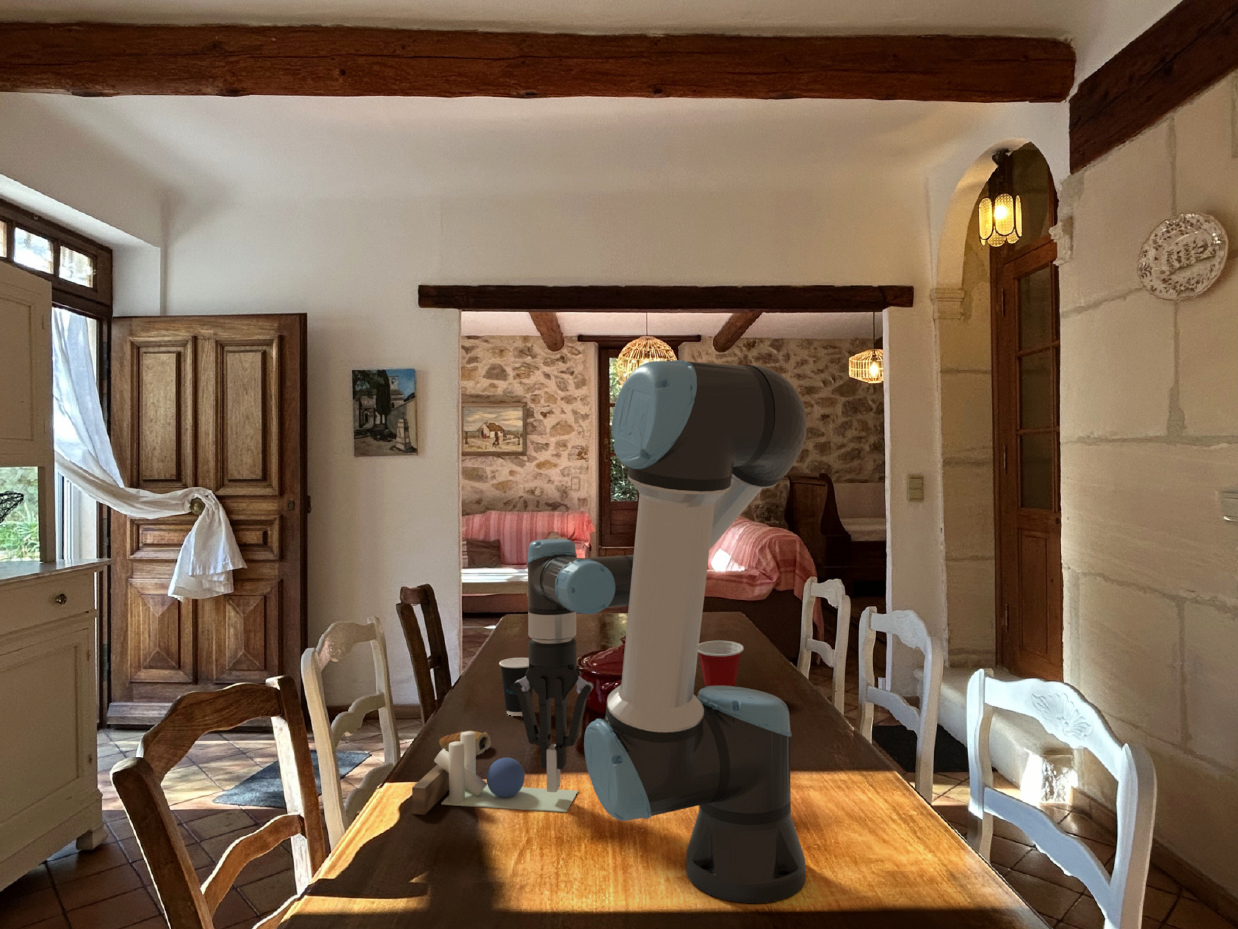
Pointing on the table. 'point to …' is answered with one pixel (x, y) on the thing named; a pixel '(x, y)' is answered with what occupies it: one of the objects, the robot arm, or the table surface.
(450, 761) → the pin rear right
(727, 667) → the plastic cup
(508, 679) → the dixie cup
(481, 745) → the pastry
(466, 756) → the pin rear left
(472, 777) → the pin front
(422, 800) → the wall
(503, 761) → the ball
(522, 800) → the strip
